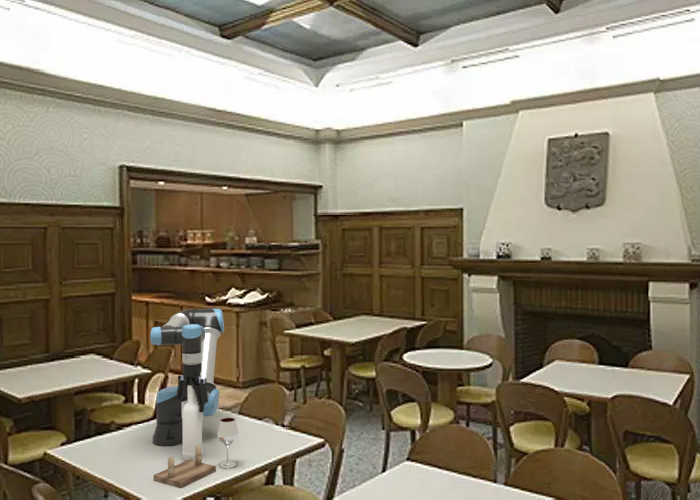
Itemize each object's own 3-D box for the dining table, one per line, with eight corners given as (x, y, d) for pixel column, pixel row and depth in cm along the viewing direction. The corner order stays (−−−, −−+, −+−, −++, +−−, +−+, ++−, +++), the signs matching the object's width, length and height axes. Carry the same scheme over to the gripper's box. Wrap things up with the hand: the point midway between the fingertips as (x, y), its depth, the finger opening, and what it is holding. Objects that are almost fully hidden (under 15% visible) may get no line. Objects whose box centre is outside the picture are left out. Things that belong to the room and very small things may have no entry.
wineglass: (218, 461, 239) (218, 417, 238) (239, 461, 239) (239, 416, 239) (216, 469, 230) (215, 423, 230) (237, 468, 231) (237, 422, 231)
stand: (153, 480, 220) (153, 456, 220) (189, 464, 236) (188, 441, 236) (181, 488, 213) (181, 463, 213) (215, 471, 229) (215, 447, 229)
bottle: (205, 458, 242) (204, 385, 241) (186, 462, 237) (185, 388, 237) (198, 453, 248) (197, 381, 248) (179, 457, 244) (179, 384, 243)
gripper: (166, 362, 244) (167, 417, 244) (204, 367, 234) (204, 424, 234) (180, 358, 251) (180, 412, 251) (217, 363, 241) (217, 419, 241)
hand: (192, 418), depth 243 cm, fingers closed on bottle, 8 cm apart
